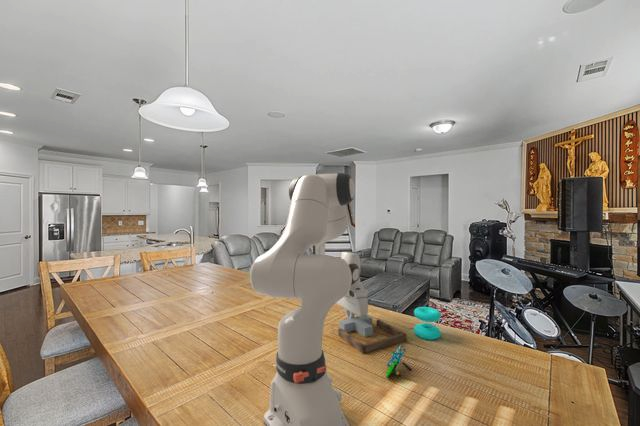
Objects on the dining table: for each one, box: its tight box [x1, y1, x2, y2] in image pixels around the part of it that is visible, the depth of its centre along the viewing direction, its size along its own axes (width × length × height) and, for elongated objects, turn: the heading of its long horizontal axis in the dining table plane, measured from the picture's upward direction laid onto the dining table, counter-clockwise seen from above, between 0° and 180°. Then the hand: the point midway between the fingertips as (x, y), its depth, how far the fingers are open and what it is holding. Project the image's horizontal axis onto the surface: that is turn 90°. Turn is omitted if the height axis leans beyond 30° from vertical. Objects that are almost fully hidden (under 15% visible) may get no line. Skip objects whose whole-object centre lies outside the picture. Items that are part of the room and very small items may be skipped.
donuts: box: [413, 306, 442, 341], centre depth 111 cm, size 10×10×10 cm
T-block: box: [338, 314, 374, 338], centre depth 115 cm, size 11×14×4 cm
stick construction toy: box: [385, 344, 413, 378], centre depth 86 cm, size 12×7×8 cm
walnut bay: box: [337, 318, 407, 354], centre depth 109 cm, size 16×20×2 cm
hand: (350, 319), depth 122 cm, fingers closed
